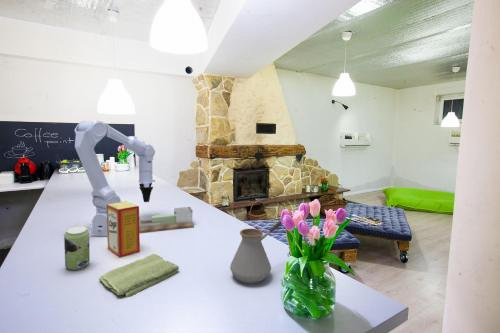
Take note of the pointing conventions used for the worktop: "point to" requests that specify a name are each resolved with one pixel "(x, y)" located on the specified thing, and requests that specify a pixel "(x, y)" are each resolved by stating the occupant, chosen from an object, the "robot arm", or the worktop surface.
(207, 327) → the worktop surface
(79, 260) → the beverage can
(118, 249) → the baking soda box
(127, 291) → the washcloth
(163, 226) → the board
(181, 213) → the end caps
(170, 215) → the green long rectangular block
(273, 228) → the coffee pot
